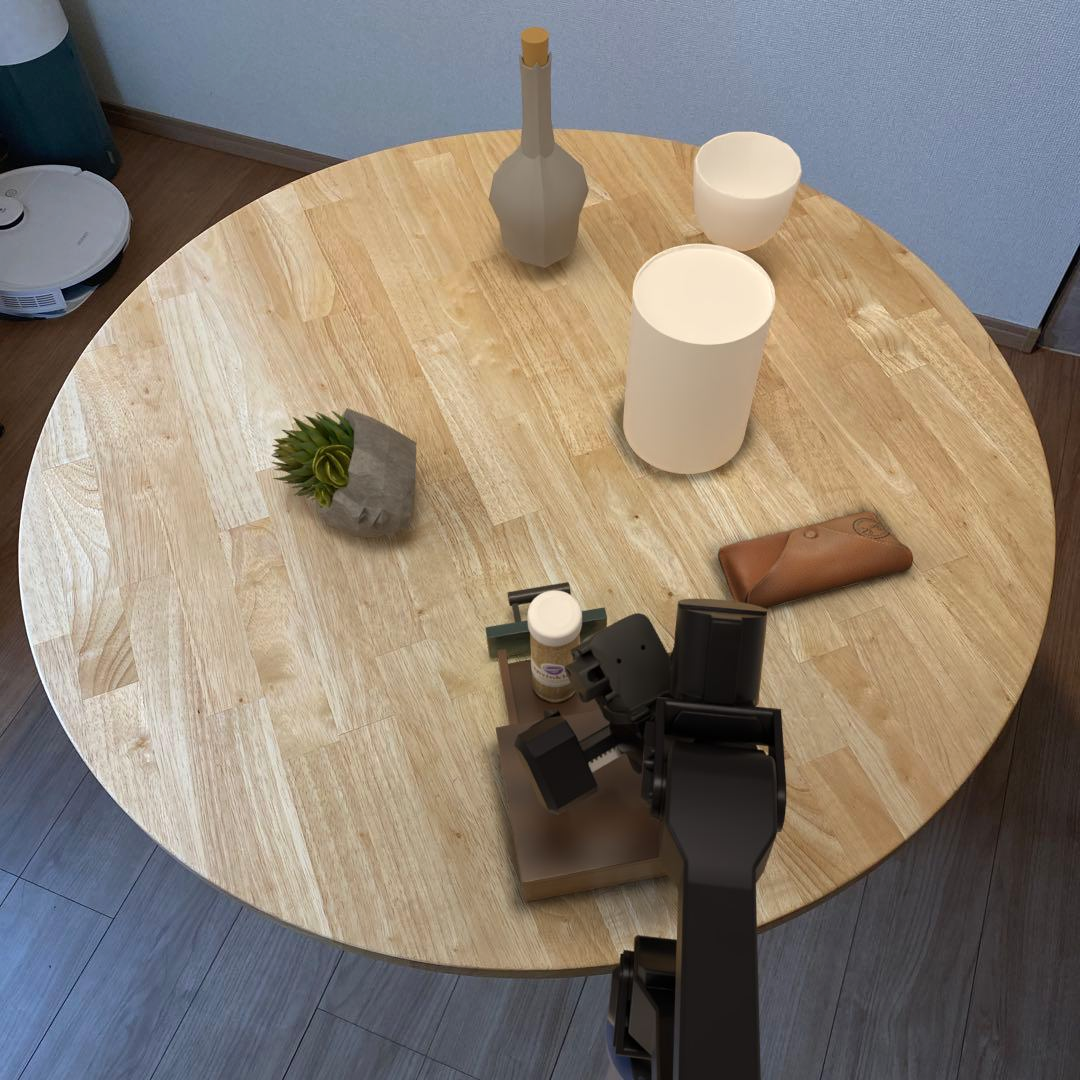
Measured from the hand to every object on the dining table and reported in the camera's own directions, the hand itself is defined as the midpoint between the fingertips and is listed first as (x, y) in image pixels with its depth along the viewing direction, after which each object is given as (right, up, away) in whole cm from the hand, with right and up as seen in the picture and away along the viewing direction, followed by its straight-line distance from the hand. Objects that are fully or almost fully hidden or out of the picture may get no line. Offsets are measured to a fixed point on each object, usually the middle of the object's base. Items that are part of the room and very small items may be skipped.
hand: (595, 688), depth 85 cm
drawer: (-3, -1, +14) cm, 14 cm away
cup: (+19, +44, +44) cm, 65 cm away
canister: (+11, +25, +32) cm, 42 cm away
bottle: (-4, +47, +46) cm, 66 cm away
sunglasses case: (+23, +10, +21) cm, 33 cm away
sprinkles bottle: (-3, -1, +13) cm, 13 cm away
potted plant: (-24, +16, +27) cm, 39 cm away
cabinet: (-1, -12, +8) cm, 14 cm away
